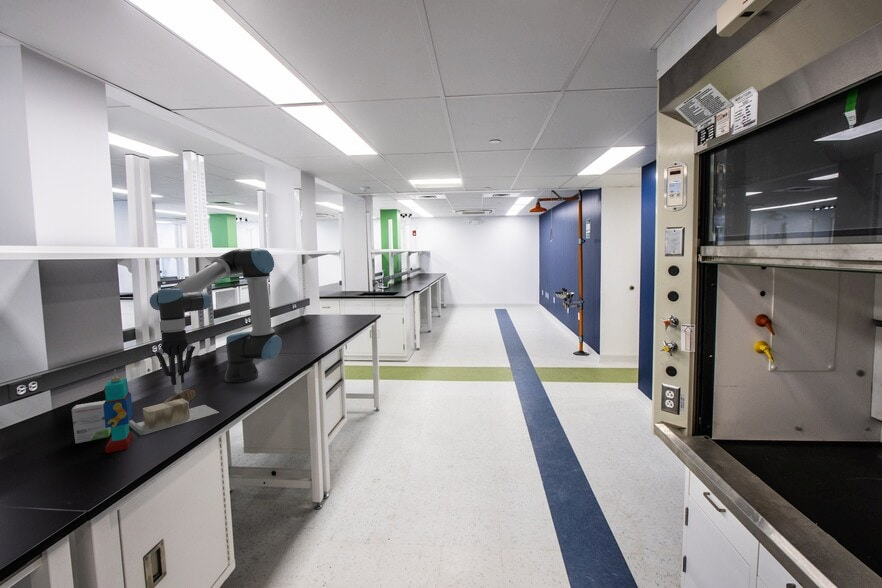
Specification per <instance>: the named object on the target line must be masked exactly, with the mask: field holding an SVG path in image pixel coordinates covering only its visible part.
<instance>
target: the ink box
mask: <svg viewBox="0 0 882 588" xmlns="http://www.w3.org/2000/svg"><path fill="white" fill-rule="evenodd" d="M105 401H106V400H102V401H101V400H99V401H94V402H88V403H87V402H86V403H81V404H75V406H73V407H72V409H71V416H72V424H73V433H74V434H73V435H74V443H75V444H81V443H85V442H91V441H95V440H101V439H106V438H109V437H110V435H111V434H112V432H111V427H109V428H105V418H104V407H103V404H104V403H105Z"/></svg>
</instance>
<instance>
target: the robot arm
mask: <svg viewBox="0 0 882 588" xmlns="http://www.w3.org/2000/svg"><path fill="white" fill-rule="evenodd" d="M274 267H275V260H274V257H273V255H272V254H271V252H269V251H268V250H267V249H265V248H238V249H234V250H229V251H228V252H225V253H224V254H222V255H219V256H218V257H216V258H215V259H212V261H211V263H210V264H209V265H207V266H205V267H204V268H202V269H200V270H199V271H197V272H196V273H194V274H192V275H190V276H188V277H187V278H185V279H183V280H182V281H180V282H178V283H176V284H175V285H174V286H172V287H169V288H163V289H161V288H160V289H159V290H158V292H157V291H156V292H154V293H152V294H151V296H150V297H149V305H150V306H151V308H152V309H153V310H155V311H159V318H160V321H159V322H160V330H161V333H160V336H161V346H160V349H158V350H155V351H154V352H153V354H154V355H155V357H157V359H158V363H159V364H160V367H161V369H162V371H163V374H164V376H166V377H170V383H171V384H170V385H171V386H174V393H175V394H176V393H177V394H179V393H182V390H183V388H182V387H183V386H182V384H184V383H185V376H184V375H185V374H186V373H189V372H190V367H191V363H192V358H193V353H194V351H195V350H196V346H194V345H191V344H189V342H188V340H187V333H186V332H187V330H186V317H185V313H190V312H195V311H196V312H197V311H200V312H201V311H204V310H207V309H209V308H210V307H211V305H212V297H211V295H210V294H209V293H208V292H207V291H205V289H207V288H208V287H210V286H211V285H212V284H214V283H216V282H218V281H219V280H220V279H222V278H227V277H228V278H229V276H231V275H235V274H237V275H238V274H242V277H243V279H244V280H245V281H246V282H247V289H248V290H247V291H248V300H249V302H248V303H249V310H250V318H251V327H252V329H251V331H250V330H249V331H244V332H243V331H242V332H236V333H233V334H229V335H227V336H226V343H225V346H226V359H227V368H226V371H225V374H224V381H225V382H227V383H232V384H233V383H243V382H249V381H253V380H255V379H257V378H258V377H259V371H258V368H257V366H256V363H255V361H254V359H255V360H272V359H275V358H276V357H277V356H279V353H280V352H281V349H282V346H283V345H282V344H283V343H282V342H283V341H282V338H281V337H280V336H279V335H277V334H276V329H274V328H273V327H272V321H271V320H272V318H271V309H270V299H269V288H268V287H269V286H268V279H269V278H270V273H271V272H273V271H274ZM203 290H204V291H203ZM185 351H186V353H185V359H183V358H184V352H185ZM164 353H165V354H166V355H167V357H168V364H167V362H166V359H165V358H164V357H165V356H164ZM176 364H177V365H176ZM168 365H169V366H168ZM176 366H177V369H176ZM168 367H169V368H168ZM176 370H177V372H176Z"/></svg>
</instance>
